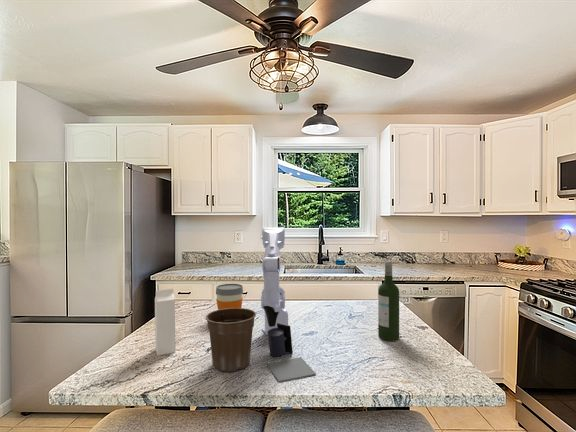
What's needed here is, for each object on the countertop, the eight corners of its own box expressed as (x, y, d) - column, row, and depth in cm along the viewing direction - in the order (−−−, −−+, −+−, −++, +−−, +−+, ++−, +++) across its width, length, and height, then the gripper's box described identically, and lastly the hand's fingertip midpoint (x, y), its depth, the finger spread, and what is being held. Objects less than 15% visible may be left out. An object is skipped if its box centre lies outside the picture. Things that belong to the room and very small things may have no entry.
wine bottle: (402, 337, 127) (402, 261, 127) (393, 343, 121) (393, 263, 121) (384, 332, 133) (383, 259, 132) (374, 338, 127) (374, 261, 126)
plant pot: (213, 352, 115) (213, 307, 115) (259, 352, 114) (258, 307, 114) (199, 375, 98) (199, 322, 98) (252, 376, 98) (252, 323, 98)
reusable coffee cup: (248, 317, 153) (248, 285, 153) (230, 324, 143) (230, 290, 142) (229, 312, 160) (228, 282, 160) (210, 320, 149) (209, 287, 149)
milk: (175, 352, 115) (175, 290, 115) (157, 356, 112) (156, 292, 112) (172, 346, 120) (172, 287, 120) (154, 349, 117) (154, 288, 117)
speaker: (283, 347, 118) (281, 320, 117) (293, 353, 113) (291, 325, 112) (265, 355, 113) (263, 327, 112) (275, 362, 109) (273, 332, 108)
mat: (300, 358, 110) (300, 357, 110) (316, 374, 98) (316, 373, 98) (266, 364, 105) (266, 363, 105) (278, 382, 94) (278, 381, 94)
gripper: (288, 292, 114) (288, 331, 114) (275, 284, 128) (276, 318, 128) (269, 294, 112) (269, 333, 112) (258, 285, 125) (258, 320, 126)
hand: (271, 325), depth 120 cm, fingers closed
